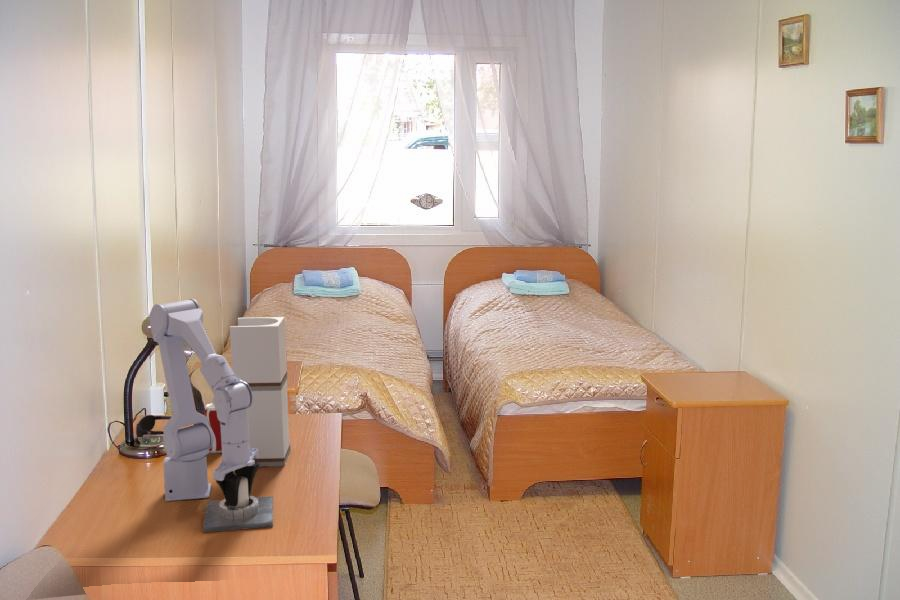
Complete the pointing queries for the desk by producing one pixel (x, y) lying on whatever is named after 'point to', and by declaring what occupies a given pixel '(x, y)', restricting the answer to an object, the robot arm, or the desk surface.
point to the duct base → (239, 515)
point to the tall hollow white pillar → (264, 384)
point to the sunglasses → (149, 425)
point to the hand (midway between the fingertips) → (238, 500)
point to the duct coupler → (242, 494)
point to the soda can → (214, 428)
